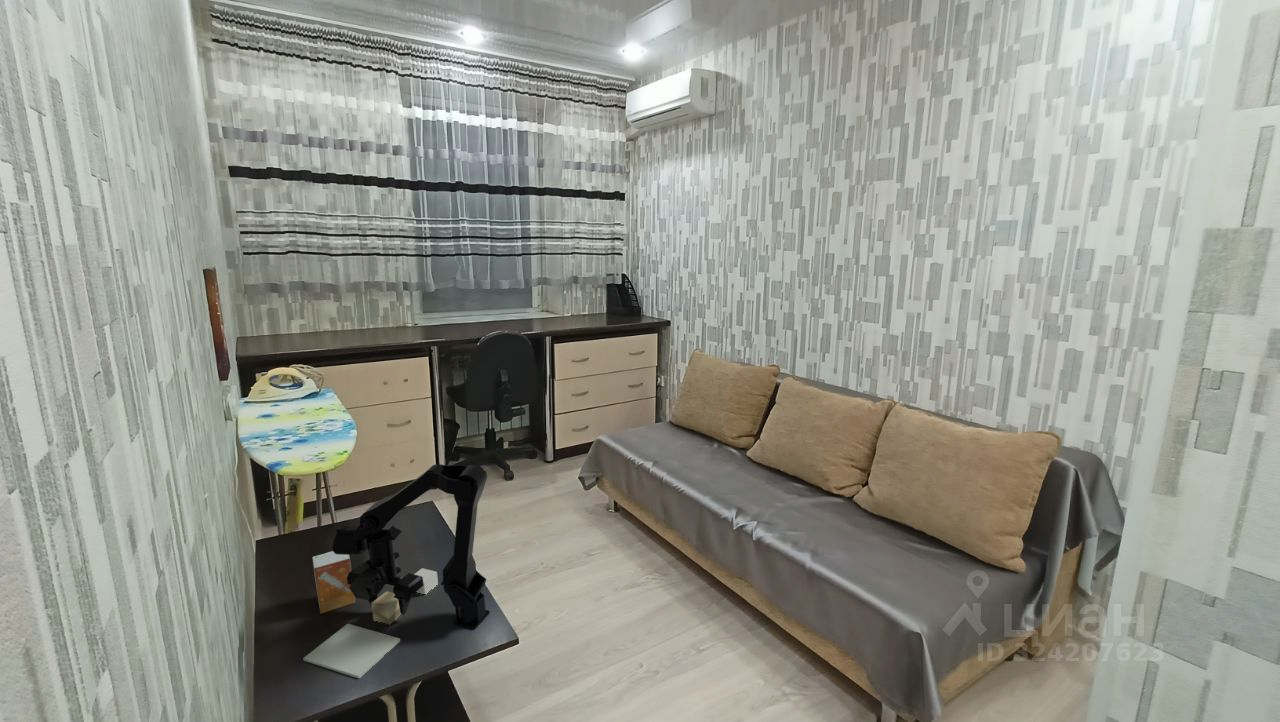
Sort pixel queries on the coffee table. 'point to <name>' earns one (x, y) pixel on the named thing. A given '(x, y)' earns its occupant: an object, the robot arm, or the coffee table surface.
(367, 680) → the coffee table surface
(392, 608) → the tan wooden cube
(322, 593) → the small box
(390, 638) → the mat
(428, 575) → the plastic block
